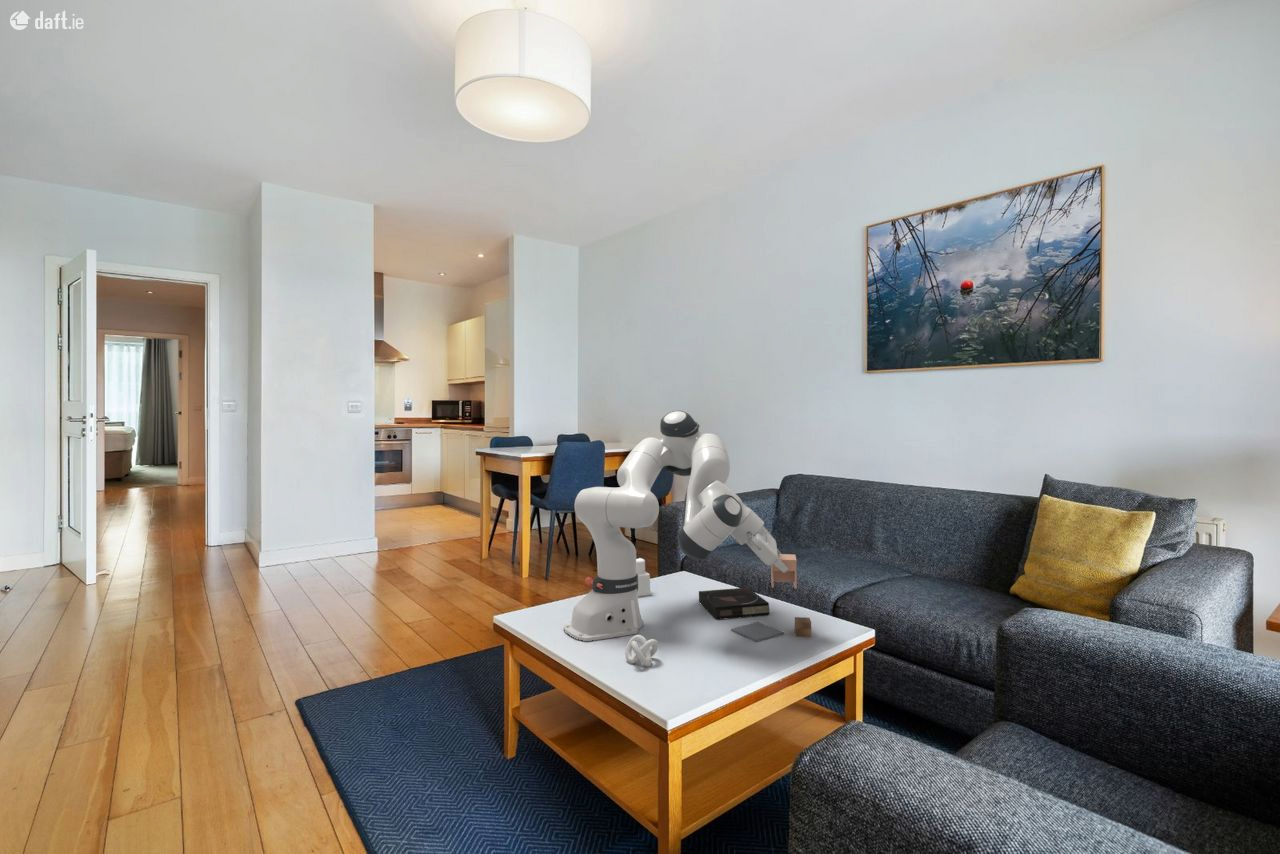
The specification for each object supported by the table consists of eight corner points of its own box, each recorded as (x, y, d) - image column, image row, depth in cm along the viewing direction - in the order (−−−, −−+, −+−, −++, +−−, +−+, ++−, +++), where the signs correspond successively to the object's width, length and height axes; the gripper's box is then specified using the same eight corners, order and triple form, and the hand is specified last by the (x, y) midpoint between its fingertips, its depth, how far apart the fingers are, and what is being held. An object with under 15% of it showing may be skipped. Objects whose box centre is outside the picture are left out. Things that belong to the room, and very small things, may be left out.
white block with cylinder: (622, 592, 204) (622, 556, 204) (642, 589, 207) (641, 554, 206) (630, 598, 197) (629, 561, 197) (650, 595, 200) (650, 559, 200)
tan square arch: (771, 587, 160) (771, 559, 160) (771, 580, 167) (771, 553, 166) (796, 588, 159) (796, 560, 159) (795, 581, 165) (795, 554, 165)
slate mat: (756, 641, 158) (756, 639, 158) (730, 630, 166) (730, 628, 166) (783, 633, 163) (783, 632, 163) (757, 623, 172) (757, 621, 172)
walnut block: (795, 636, 161) (795, 622, 161) (794, 631, 165) (794, 617, 165) (811, 637, 161) (811, 622, 160) (809, 632, 164) (809, 617, 164)
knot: (649, 653, 152) (649, 630, 151) (665, 665, 144) (665, 640, 144) (622, 659, 148) (622, 635, 148) (637, 671, 141) (636, 646, 141)
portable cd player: (716, 621, 175) (716, 607, 175) (698, 603, 192) (698, 591, 192) (769, 616, 178) (769, 603, 178) (747, 599, 195) (747, 587, 195)
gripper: (756, 528, 154) (796, 568, 152) (756, 515, 174) (792, 550, 172) (738, 545, 155) (778, 585, 153) (741, 530, 175) (776, 565, 173)
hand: (785, 566), depth 163 cm, fingers closed on tan square arch, 6 cm apart
